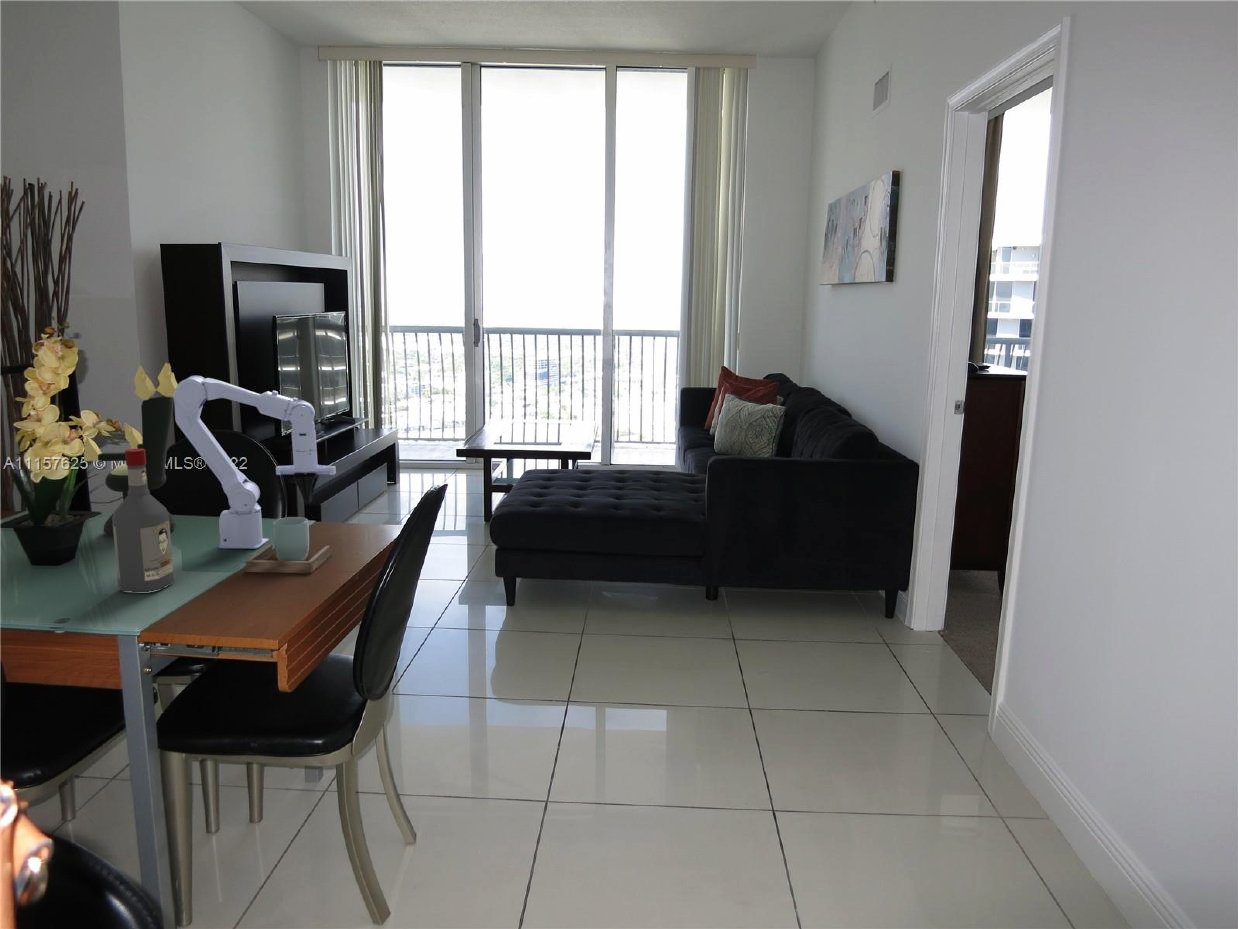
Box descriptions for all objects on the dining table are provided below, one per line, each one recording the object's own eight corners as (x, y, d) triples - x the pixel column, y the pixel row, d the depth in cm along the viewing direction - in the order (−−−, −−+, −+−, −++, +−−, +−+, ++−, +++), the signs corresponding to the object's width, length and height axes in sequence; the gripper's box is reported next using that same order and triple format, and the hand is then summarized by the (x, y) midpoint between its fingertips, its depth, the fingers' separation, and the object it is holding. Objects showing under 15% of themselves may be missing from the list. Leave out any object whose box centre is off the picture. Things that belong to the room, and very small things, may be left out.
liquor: (112, 593, 184) (99, 453, 178) (139, 579, 192) (127, 445, 187) (154, 595, 183) (142, 454, 177) (179, 581, 192) (168, 447, 186)
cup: (315, 557, 211) (313, 517, 209) (301, 567, 203) (299, 525, 201) (284, 556, 211) (282, 516, 210) (269, 565, 204) (266, 524, 202)
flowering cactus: (133, 521, 240) (119, 357, 232) (209, 525, 238) (197, 359, 229) (84, 539, 222) (67, 362, 213) (166, 544, 219) (152, 364, 211)
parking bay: (245, 571, 199) (245, 561, 199) (268, 554, 212) (268, 544, 212) (311, 573, 199) (311, 562, 199) (330, 555, 212) (330, 545, 212)
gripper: (338, 447, 224) (341, 498, 226) (281, 446, 224) (285, 498, 226) (329, 451, 217) (332, 505, 219) (271, 451, 217) (275, 504, 219)
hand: (308, 502), depth 222 cm, fingers closed
